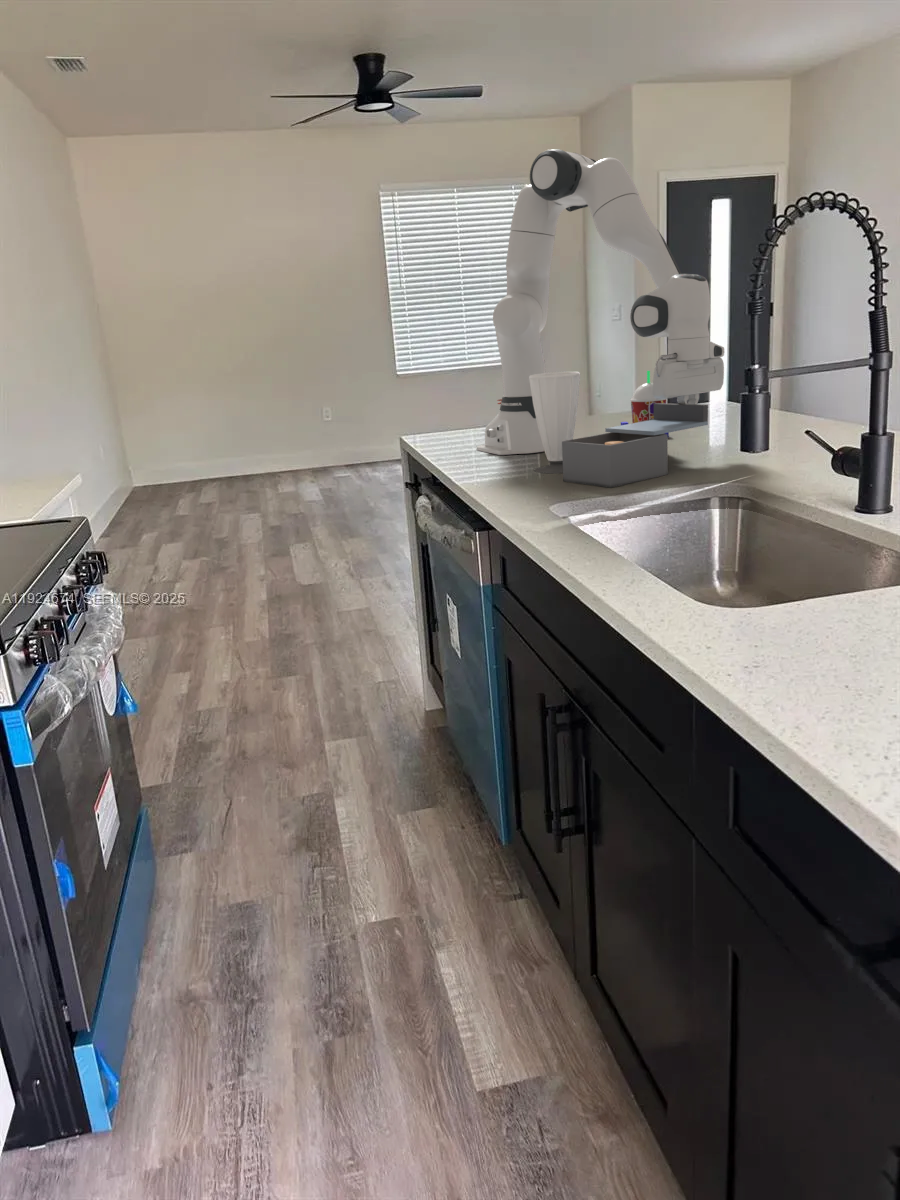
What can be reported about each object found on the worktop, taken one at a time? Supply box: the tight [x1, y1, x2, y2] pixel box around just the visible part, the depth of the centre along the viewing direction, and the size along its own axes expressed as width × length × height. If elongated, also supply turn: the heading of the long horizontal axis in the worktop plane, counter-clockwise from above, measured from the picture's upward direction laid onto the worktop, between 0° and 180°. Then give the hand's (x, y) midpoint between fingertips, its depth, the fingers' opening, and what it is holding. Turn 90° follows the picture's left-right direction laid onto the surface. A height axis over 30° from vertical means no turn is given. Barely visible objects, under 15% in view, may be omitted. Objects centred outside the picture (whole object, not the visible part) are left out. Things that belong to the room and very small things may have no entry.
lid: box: [604, 402, 709, 435], centre depth 189 cm, size 14×17×4 cm
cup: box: [529, 371, 581, 475], centre depth 197 cm, size 12×12×22 cm
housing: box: [562, 432, 669, 489], centre depth 184 cm, size 14×17×8 cm
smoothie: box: [630, 370, 667, 434], centre depth 206 cm, size 8×8×20 cm
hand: (687, 415), depth 195 cm, fingers closed
